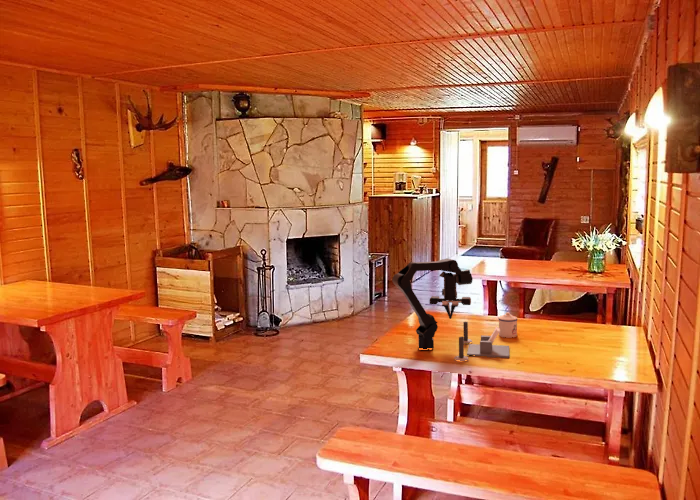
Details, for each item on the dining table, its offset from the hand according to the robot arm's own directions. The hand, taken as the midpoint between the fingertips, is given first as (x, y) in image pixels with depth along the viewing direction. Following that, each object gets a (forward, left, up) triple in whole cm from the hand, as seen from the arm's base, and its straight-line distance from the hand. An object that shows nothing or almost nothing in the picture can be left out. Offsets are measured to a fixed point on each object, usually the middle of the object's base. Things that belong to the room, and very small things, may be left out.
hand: (450, 318), depth 270 cm
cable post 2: (+8, +5, -13) cm, 16 cm away
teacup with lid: (+30, +19, -13) cm, 38 cm away
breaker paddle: (+15, -10, -12) cm, 21 cm away
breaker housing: (+15, -10, -13) cm, 22 cm away
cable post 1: (+3, -22, -13) cm, 26 cm away
